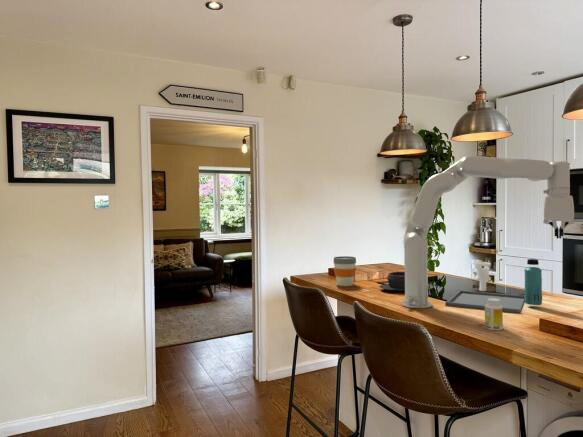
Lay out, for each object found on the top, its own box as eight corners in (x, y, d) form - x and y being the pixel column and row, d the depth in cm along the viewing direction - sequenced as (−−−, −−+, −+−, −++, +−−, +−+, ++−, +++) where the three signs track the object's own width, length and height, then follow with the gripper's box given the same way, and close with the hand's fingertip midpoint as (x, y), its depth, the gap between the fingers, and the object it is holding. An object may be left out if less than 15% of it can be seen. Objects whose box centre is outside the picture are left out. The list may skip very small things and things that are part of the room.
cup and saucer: (416, 285, 225) (416, 269, 224) (435, 292, 206) (435, 275, 206) (373, 288, 219) (373, 272, 219) (388, 295, 201) (388, 278, 201)
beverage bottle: (533, 309, 169) (533, 260, 168) (520, 305, 175) (520, 258, 175) (546, 308, 171) (546, 259, 170) (532, 304, 177) (532, 257, 176)
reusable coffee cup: (344, 281, 240) (344, 255, 239) (361, 284, 230) (360, 257, 230) (329, 284, 232) (328, 257, 231) (345, 287, 222) (345, 259, 222)
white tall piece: (479, 288, 212) (478, 259, 212) (493, 290, 207) (492, 260, 206) (472, 290, 208) (472, 260, 207) (486, 292, 202) (486, 261, 202)
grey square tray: (519, 313, 163) (519, 309, 163) (445, 305, 179) (445, 302, 179) (524, 299, 187) (524, 295, 187) (458, 293, 202) (458, 290, 202)
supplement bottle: (504, 328, 145) (504, 299, 145) (499, 332, 141) (499, 302, 141) (487, 325, 149) (487, 297, 148) (482, 329, 145) (482, 299, 144)
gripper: (536, 193, 168) (536, 238, 168) (581, 191, 159) (581, 239, 160) (537, 193, 174) (537, 237, 174) (580, 192, 166) (581, 237, 166)
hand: (558, 238), depth 167 cm, fingers closed
